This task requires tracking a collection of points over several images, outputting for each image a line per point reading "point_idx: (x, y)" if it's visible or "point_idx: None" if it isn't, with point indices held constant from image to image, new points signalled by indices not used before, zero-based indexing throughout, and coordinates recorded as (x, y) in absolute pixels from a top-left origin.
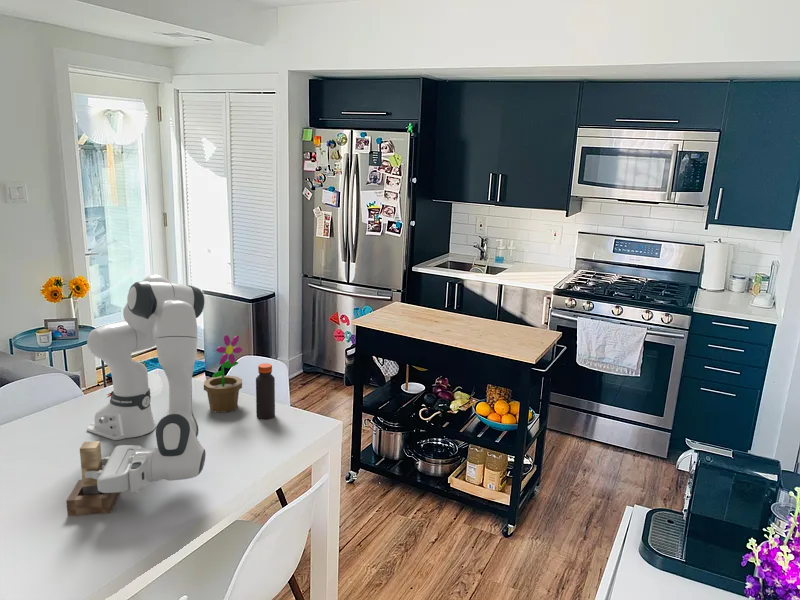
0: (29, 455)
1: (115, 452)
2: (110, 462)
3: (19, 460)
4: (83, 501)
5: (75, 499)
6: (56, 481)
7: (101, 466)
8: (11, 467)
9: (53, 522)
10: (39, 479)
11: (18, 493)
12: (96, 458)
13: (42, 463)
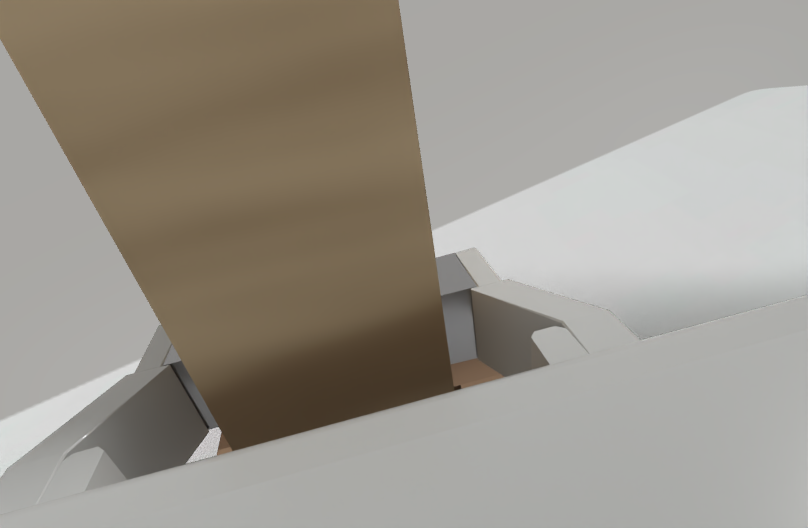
0: (673, 159)
1: (792, 354)
2: (251, 519)
3: (631, 161)
4: None
5: (223, 452)
6: (572, 273)
7: (416, 392)
8: (586, 169)
9: (218, 443)
10: (559, 234)
11: (454, 240)
12: (109, 223)
13: (657, 193)
